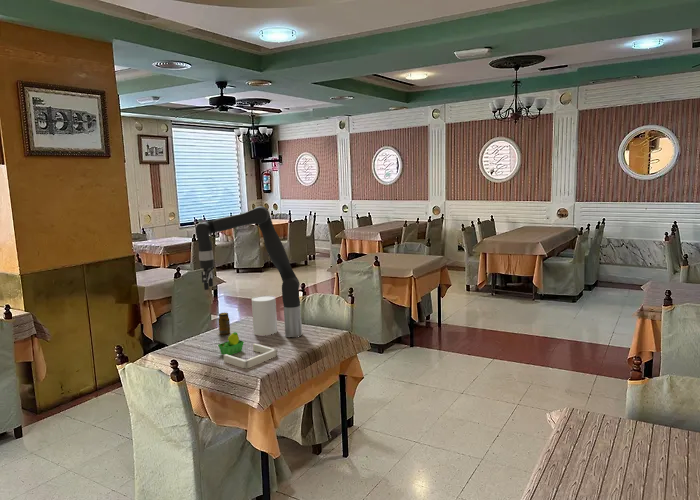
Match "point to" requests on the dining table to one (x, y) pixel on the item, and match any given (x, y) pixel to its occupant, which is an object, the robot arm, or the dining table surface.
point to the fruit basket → (231, 345)
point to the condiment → (224, 325)
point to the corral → (245, 364)
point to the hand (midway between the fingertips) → (208, 287)
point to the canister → (264, 315)
